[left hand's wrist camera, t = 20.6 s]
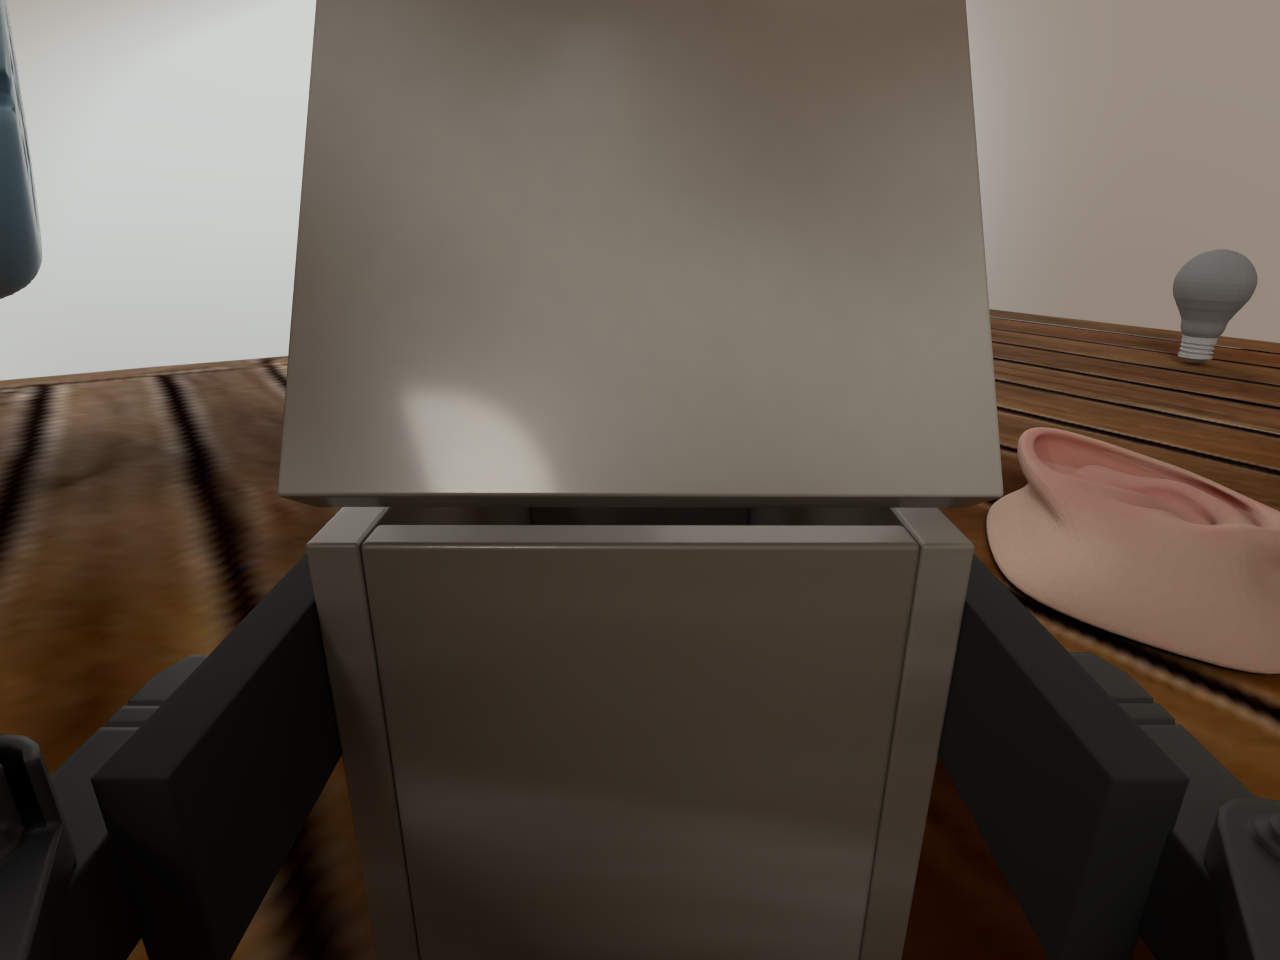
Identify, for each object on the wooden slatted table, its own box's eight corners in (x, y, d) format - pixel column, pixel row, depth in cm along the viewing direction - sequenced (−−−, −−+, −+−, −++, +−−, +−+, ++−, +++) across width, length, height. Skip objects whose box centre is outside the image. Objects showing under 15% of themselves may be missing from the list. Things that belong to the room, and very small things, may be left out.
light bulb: (1172, 366, 67) (1201, 251, 63) (1144, 354, 72) (1170, 247, 69) (1247, 369, 66) (1281, 251, 62) (1213, 357, 71) (1243, 248, 68)
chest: (518, 594, 28) (502, 343, 25) (761, 594, 28) (777, 343, 25) (385, 1017, 13) (303, 543, 10) (892, 1017, 13) (977, 545, 10)
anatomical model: (1443, 585, 20) (980, 507, 25) (1391, 708, 21) (963, 610, 26) (1310, 451, 31) (1007, 416, 36) (1281, 538, 32) (993, 492, 37)
